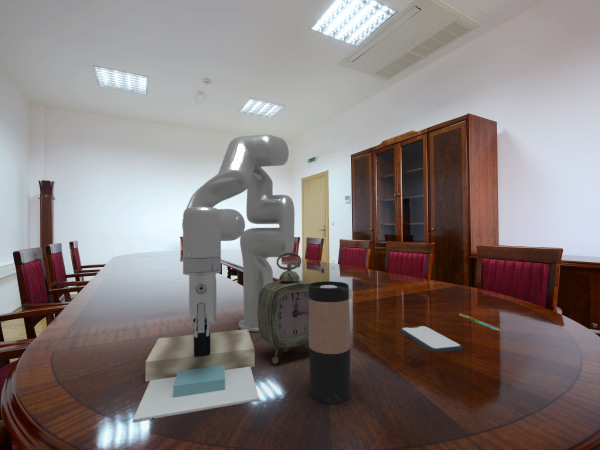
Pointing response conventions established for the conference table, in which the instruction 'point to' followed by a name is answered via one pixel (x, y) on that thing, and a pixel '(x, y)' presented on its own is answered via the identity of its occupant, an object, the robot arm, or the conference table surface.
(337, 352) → the travel mug
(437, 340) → the phone case
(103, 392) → the conference table surface
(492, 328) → the pencil
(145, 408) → the mat
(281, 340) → the tabletop clock
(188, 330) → the conference table surface
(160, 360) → the beige flat block
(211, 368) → the blue rectangular block
